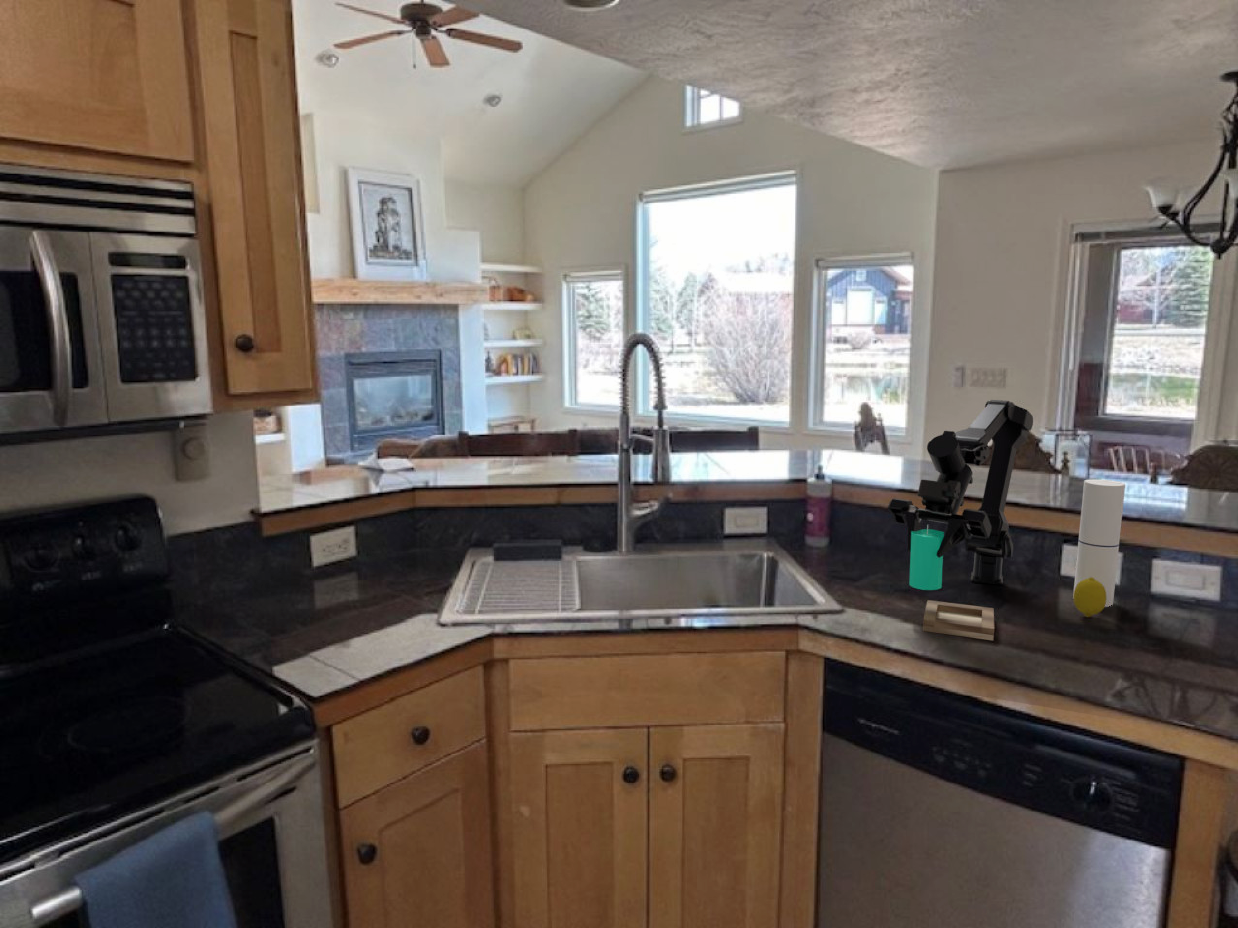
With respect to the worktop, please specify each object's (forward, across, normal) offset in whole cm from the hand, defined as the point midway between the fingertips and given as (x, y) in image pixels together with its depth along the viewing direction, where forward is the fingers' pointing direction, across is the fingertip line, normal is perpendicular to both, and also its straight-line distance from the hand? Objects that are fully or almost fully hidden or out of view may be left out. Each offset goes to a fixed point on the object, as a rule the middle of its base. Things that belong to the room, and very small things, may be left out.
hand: (923, 553), depth 154 cm
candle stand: (+8, +7, +11) cm, 15 cm away
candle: (+4, 0, +6) cm, 7 cm away
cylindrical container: (-15, +21, +35) cm, 43 cm away
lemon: (-7, +23, +27) cm, 36 cm away
